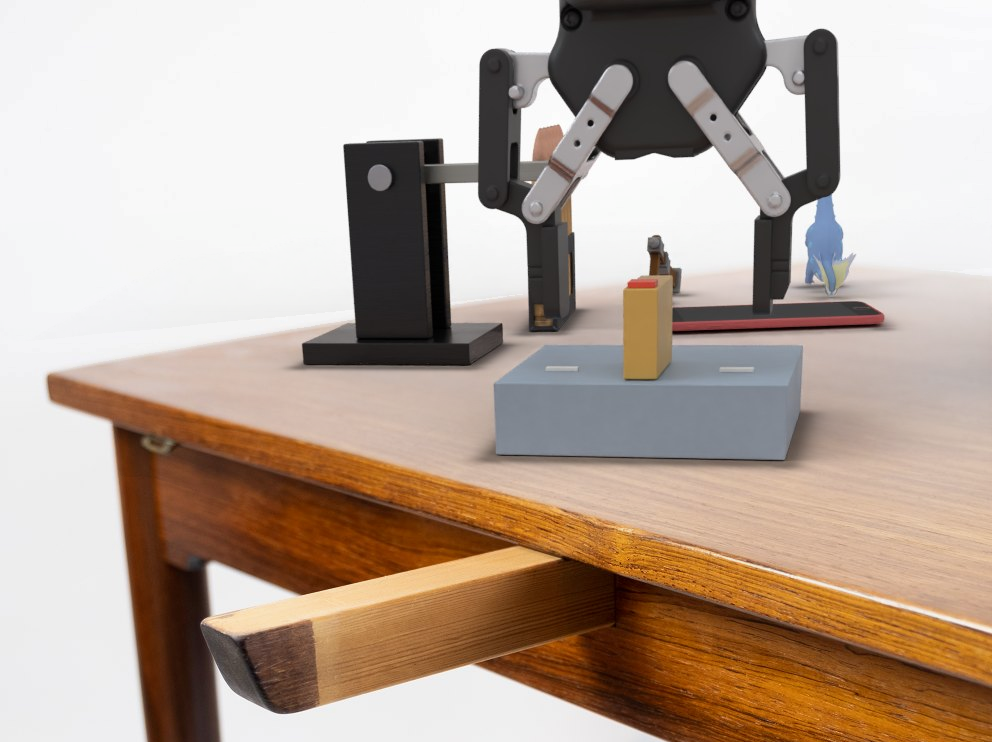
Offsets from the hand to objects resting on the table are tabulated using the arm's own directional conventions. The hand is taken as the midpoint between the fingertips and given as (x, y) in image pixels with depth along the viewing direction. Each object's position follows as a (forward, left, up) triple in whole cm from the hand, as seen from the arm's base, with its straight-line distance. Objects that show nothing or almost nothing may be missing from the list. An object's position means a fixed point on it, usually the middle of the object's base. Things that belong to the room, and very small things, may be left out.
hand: (657, 314), depth 62 cm
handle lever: (+14, -23, +3) cm, 27 cm away
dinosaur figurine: (-5, -52, -6) cm, 53 cm away
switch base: (0, -2, -5) cm, 6 cm away
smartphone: (-2, -35, -5) cm, 36 cm away
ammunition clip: (+12, -37, -6) cm, 40 cm away
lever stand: (+18, -23, -5) cm, 30 cm away
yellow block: (0, 0, -2) cm, 2 cm away
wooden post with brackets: (+6, -47, -6) cm, 48 cm away
